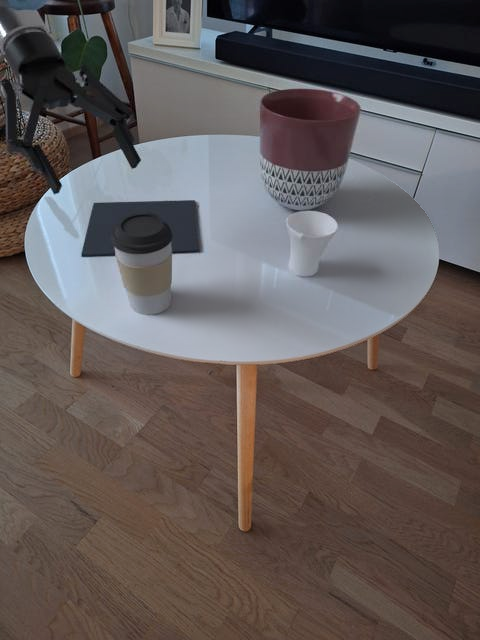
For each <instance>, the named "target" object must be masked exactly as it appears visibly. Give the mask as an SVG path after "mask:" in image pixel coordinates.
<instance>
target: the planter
mask: <svg viewBox="0 0 480 640" xmlns="http://www.w3.org/2000/svg"><path fill="white" fill-rule="evenodd" d="M361 110H362V107H361V105H360V104H359V102H357V101H356V100H354V99H353V98H351V97H350V96H346V95H344V94H341V93H338V92H334V91H329V90H325V89H324V90H323V89H316V88H287V89H285V88H284V89H279V90H275V91H271V92H268V93H266V94H265V95H263V96H262V97H261V99H260V102H259V171H260V177H261V180H262V184H263V187H264V189H265V190H266V192H267V193H268V195H269V196H270V197H271V198H272V199H273V200H274V202H276V203H278V205H280V206H282V207H284V208H286V209H289V210H293V211H294V210H295V211H310V210H312V209H316V208H318V207H320V206H322V205H324V204H325V203H327V202H328V201H329V200H330V199H331V198H333V196H334V195H336V192H337V191H338V190H339V188H340V186H341V184H342V182H343V179H344V177H345V174H346V172H347V167H348V163H349V159H350V156H351V152H352V147H353V143H354V139H355V135H356V131H357V127H358V124H359V121H360V120H359V119H360V115H361Z"/></svg>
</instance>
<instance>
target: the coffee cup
mask: <svg viewBox="0 0 480 640" xmlns="http://www.w3.org/2000/svg"><path fill="white" fill-rule="evenodd" d="M172 237H173V235H172V232H171V228H170V227H169V225H168V224H167V223H165V222H164V221H162V219H161V218H160V216H159V215H157V214H155V213H152V212H147V213H144V214H133V215H129V216H126V217H124V218H122V219H121V220H120V221H119V222H118V224H117V225H115V227H114V228H113V230H112V237H111V243H112V245H113V246H114V248H115V255H114V256H115V259H116V260H115V261H116V263H117V267H118V270H119V273H120V278H121V280H122V281H121V282H122V284H123V287H124V290H125V293H126V296H127V299H128V303H129V307H130V308H131V309H132V311H134V312H135V313H138V314H140V315H145V316H150V315H151V316H153V315H157V314H160V313H162V312H164V311H166V310H167V309H168V308H169V307H170V306H171V303H172V283H173V253H172V247H171V241H172Z"/></svg>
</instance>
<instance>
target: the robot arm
mask: <svg viewBox="0 0 480 640" xmlns="http://www.w3.org/2000/svg"><path fill="white" fill-rule="evenodd" d="M48 1H49V0H0V52H1V53H2V54H3V55H4V59H5V61H6V63H7V65H8V67H9V69H10V70H11V71H12V73H13V75H14V77H15V79H16V80H17V81H15V82H11V81H10V80H9V79H8V78H3V79H1V81H0V96H1V98H2V100H3V102H4V114H5V115H4V116H5V118H4V119H5V149H6V151H7V152H8V153H9V154H15V153H20V155H21V156H23V157H25V158H26V160H27V161H28V163H29V165H30V167H31V169H32V170H33V172H34V173H35V174H40V173H41V175H43V178H44V179H45V181H46V183H47V184H48V186H49V188H50V190H51V192H52V193H53V195H57V194H59V193H60V191H61V189H62V187H63V184H62V182H61V180H60V179H59V176H58V175H57V174H56V172H55V170H54V168H53V166H52V165H51V163H50V161H49V159H48V158H47V156H46V154H45V151H44V150H43V148H42V146H41V145H40V143H37V144H34V145H33V142H34V138H35V134H36V130H37V127H38V123H39V120H40V115H41V111H42V108H44V109H47V110H48V111H51V110H56V108H65V107H68V106H69V105H71V106H73V107H74V108H80V109H81V110H83V111H85V112H87V113H88V114H90V115H92V116H93V117H95V118H96V119H98V120H100V121H102V122H103V123H105V124H107V125H108V126H110V127H112V128H113V130H112V135H113V137H114V139H115V140H116V142H117V145H118V146H119V148H120V149H121V152H122V153H123V155H124V157H125V159H126V161H127V163H128V165H129V167H130V168H131V169H132V170H134V169H136V168H137V167H138V165H139V164H140V163H141V161H142V159H141V157H140V155H139V153H138V151H137V149H136V148H135V145H134V143H135V137H134V135H133V133H132V132H131V130H130V128H129V126H128V123H129V121H130V119H131V118H132V116H133V114H134V112H133V109H131V108H130V107H129V106H128V105H127V104H126V103H125V102H123V101H122V100H121V99H120V98H119V97H118V96H117V95H115V93H113V92H112V91H111V90H110V89H109V88H108V87H107V86H106V85H105V84H103V83H102V82H101V81H100V80H99V79H98V78H96V76H95V75H94V73H93V72H92V70H91V69H90V68H89V66H88V65H86V64H83V65H81V67H80V69H79V70H75V71H72V70H70V69H69V68H68V66H67V65H66V63H65V60H64V57H63V56H62V53H61V52H60V50H59V48H58V46H57V45H56V43H55V41H54V39H53V37H52V36H51V34H50V33H51V32H50V31H49V30H48V27H47V26H46V24H45V22H44V20H43V19H42V16H41V15H40V13H39V11H38V10H40V9H41V8H43V7H44V6H46V4H47V3H48ZM78 84H79V85H78ZM83 87H84V88H83ZM86 91H87V92H88V93H87V92H86ZM20 93H21V94H22V95H23V96H25V97H26V98H28V99H29V100H30V101H33V102H32V105H31V108H30V113H29V116H28V121H27V123H26V128H25V130H24V131H25V132H24V135H23V139H22V138H21V139H20V138H19V139H18V119H17V117H18V116H17V100H19V96H20ZM74 94H75V95H76V96H74Z"/></svg>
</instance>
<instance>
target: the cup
mask: <svg viewBox="0 0 480 640" xmlns="http://www.w3.org/2000/svg"><path fill="white" fill-rule="evenodd" d="M285 226H286V227H285V228H286V231H287V233H288V235H289V242H290V252H289V260H288V269H289V271H290V272H291V274H292V275H295V276H297V277H301V278H307V277H313V276H314V275H316V273H318V271H319V268H320V262H321V259H322V256H323V253H324V251H325V250H326V248H327V246H328V243H329V242H330V241H331V240H332V239H333V238H334V237H335V235H336V234H337V232H338V229H339V224H338V223H337V220H335V218H333V216H330V214H327V213H325V212H321V211H317V210H299V211H296V212H294V213H292V214H290V215H289V216H288V217H287V218H286V220H285Z"/></svg>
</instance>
